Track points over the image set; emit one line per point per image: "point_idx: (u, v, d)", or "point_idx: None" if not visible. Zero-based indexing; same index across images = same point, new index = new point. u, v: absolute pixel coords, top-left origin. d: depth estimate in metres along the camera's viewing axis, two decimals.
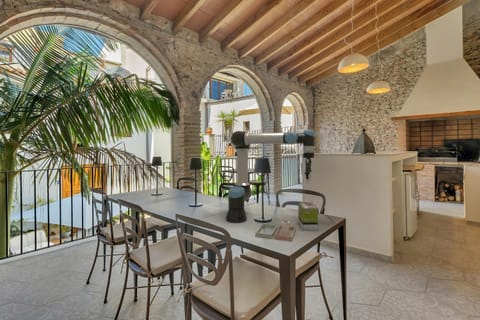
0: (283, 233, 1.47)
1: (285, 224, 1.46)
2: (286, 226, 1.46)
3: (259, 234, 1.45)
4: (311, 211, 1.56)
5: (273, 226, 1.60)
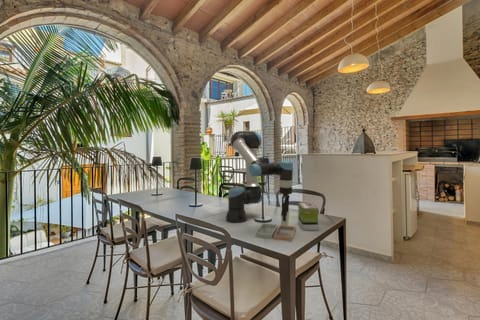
0: None
1: None
2: None
3: (259, 234, 1.45)
4: (311, 211, 1.56)
5: (273, 226, 1.60)
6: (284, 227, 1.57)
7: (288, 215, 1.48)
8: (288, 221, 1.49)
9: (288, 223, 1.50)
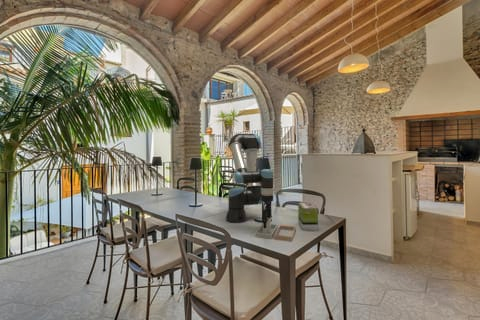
0: None
1: None
2: None
3: (259, 234, 1.45)
4: (311, 211, 1.56)
5: (273, 226, 1.60)
6: (284, 227, 1.57)
7: (270, 222, 1.52)
8: (270, 228, 1.53)
9: (270, 230, 1.54)
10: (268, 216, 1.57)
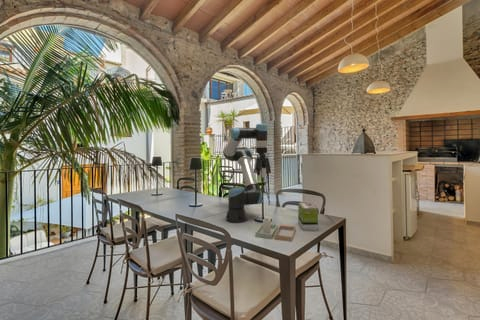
0: (264, 231, 1.51)
1: (266, 222, 1.50)
2: (267, 224, 1.50)
3: (259, 234, 1.45)
4: (311, 211, 1.56)
5: (273, 226, 1.60)
6: (284, 227, 1.57)
7: (270, 222, 1.52)
8: (270, 228, 1.53)
9: (270, 230, 1.54)
10: (263, 166, 1.72)
